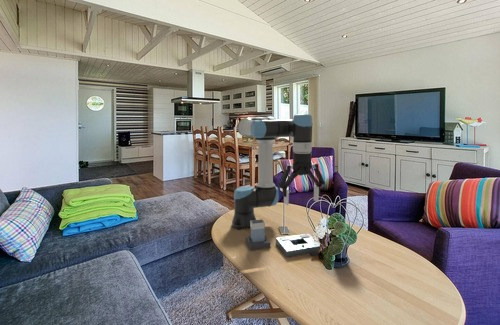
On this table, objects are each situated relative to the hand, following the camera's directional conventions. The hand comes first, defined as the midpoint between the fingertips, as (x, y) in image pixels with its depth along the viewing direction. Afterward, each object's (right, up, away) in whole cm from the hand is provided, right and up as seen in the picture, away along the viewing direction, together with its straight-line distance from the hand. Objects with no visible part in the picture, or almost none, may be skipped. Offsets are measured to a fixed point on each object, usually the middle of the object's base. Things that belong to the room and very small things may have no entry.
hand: (301, 202), depth 109 cm
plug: (-18, -24, +21) cm, 37 cm away
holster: (-18, -25, +21) cm, 37 cm away
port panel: (+2, -26, +17) cm, 31 cm away
